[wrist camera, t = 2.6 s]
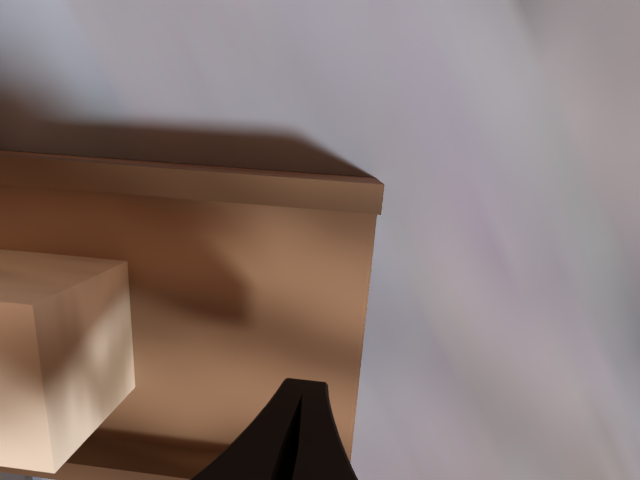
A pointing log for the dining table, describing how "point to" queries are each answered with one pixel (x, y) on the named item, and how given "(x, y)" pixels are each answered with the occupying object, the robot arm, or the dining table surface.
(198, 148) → the dining table surface
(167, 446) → the brown tray with rims
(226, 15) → the dining table surface
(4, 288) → the cream block
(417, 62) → the dining table surface
